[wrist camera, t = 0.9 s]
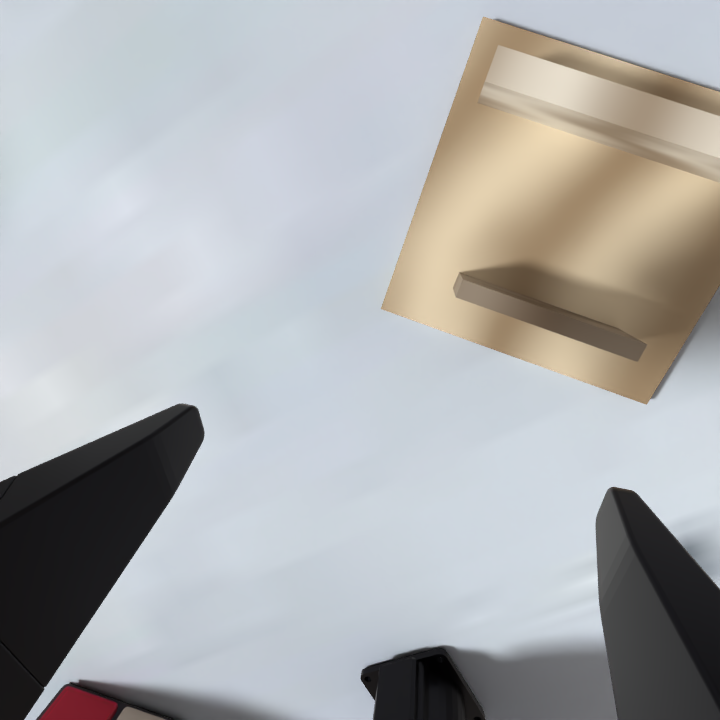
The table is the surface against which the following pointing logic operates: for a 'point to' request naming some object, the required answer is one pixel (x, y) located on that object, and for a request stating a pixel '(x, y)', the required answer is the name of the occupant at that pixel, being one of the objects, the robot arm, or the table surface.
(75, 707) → the red and beige box
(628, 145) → the shelf slot
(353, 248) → the table surface
